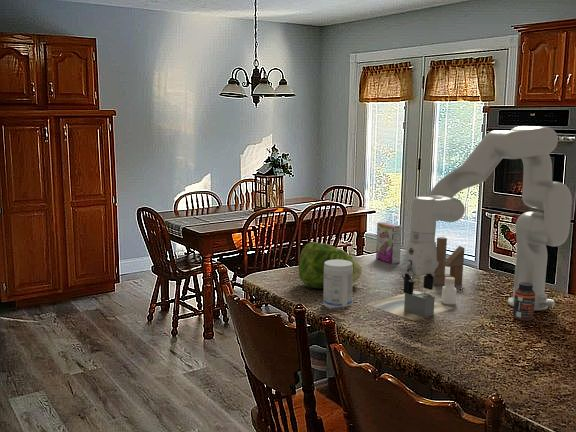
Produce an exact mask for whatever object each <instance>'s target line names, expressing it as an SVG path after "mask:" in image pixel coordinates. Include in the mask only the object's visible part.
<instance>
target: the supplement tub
mask: <svg viewBox="0 0 576 432" xmlns="http://www.w3.org/2000/svg"><path fill="white" fill-rule="evenodd" d="M353 283H354V282H353V263H352V262H350V261H347V260H338V259H336V260H328V261H325V262H324V288H322V289H323V294H322V295H323V305H324V307H325V308H327V309H334V308H345V307H346V308H347V307H350V306H351V305H353V285H354V284H353Z"/></svg>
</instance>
